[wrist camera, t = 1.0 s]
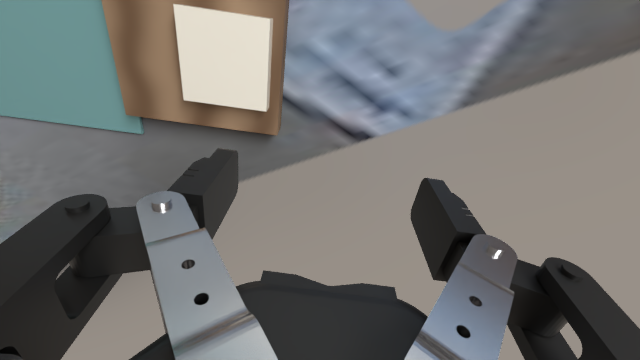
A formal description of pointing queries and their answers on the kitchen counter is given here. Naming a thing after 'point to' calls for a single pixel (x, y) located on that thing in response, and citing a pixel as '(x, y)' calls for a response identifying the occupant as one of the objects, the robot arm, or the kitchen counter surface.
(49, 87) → the mat
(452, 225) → the robot arm
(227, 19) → the tile
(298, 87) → the kitchen counter surface
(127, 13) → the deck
